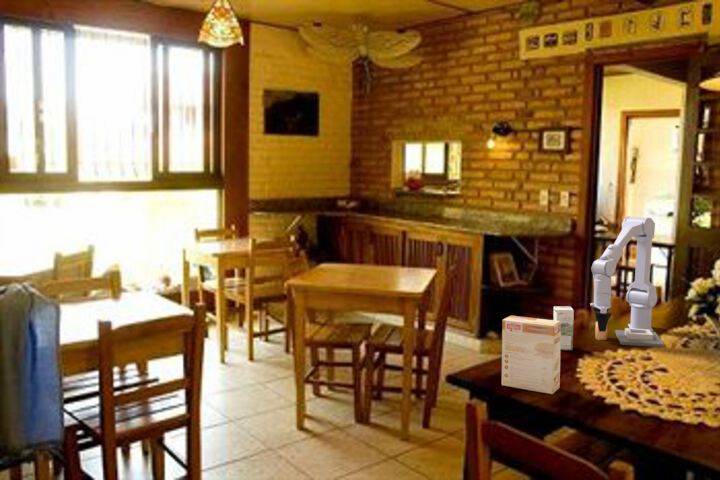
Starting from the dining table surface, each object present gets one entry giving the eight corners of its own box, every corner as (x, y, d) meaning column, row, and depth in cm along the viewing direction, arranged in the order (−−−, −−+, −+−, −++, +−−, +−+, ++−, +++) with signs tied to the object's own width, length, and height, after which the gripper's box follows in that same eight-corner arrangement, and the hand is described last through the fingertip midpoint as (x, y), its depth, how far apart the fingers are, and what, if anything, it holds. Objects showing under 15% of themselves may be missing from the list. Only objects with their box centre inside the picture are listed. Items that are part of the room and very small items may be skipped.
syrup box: (568, 346, 225) (570, 305, 224) (572, 350, 219) (573, 309, 218) (552, 345, 226) (553, 305, 224) (555, 350, 220) (556, 309, 218)
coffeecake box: (560, 387, 182) (561, 320, 180) (552, 395, 176) (554, 325, 174) (509, 378, 190) (510, 314, 188) (500, 385, 184) (501, 319, 182)
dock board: (615, 332, 244) (615, 324, 244) (655, 334, 240) (655, 326, 240) (620, 344, 227) (621, 336, 226) (663, 347, 223) (664, 338, 223)
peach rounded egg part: (594, 337, 238) (595, 321, 237) (606, 337, 236) (606, 321, 236) (595, 339, 234) (596, 323, 233) (607, 340, 233) (607, 324, 232)
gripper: (589, 288, 241) (588, 323, 243) (592, 295, 227) (591, 332, 229) (609, 289, 239) (608, 324, 241) (613, 296, 225) (612, 334, 227)
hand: (601, 328), depth 235 cm, fingers open, 7 cm apart
